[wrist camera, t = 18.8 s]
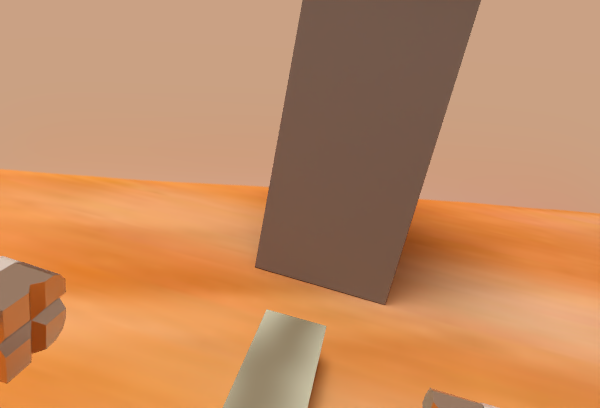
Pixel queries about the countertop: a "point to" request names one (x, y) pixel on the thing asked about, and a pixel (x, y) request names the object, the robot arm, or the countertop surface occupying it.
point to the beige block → (278, 364)
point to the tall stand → (359, 137)
